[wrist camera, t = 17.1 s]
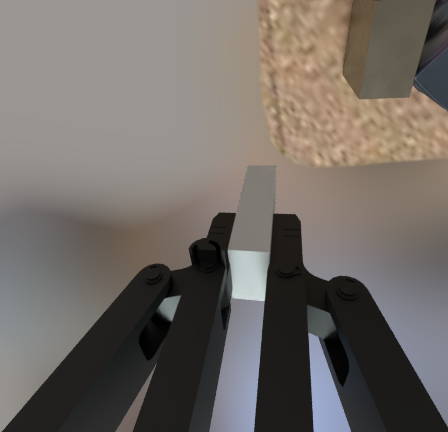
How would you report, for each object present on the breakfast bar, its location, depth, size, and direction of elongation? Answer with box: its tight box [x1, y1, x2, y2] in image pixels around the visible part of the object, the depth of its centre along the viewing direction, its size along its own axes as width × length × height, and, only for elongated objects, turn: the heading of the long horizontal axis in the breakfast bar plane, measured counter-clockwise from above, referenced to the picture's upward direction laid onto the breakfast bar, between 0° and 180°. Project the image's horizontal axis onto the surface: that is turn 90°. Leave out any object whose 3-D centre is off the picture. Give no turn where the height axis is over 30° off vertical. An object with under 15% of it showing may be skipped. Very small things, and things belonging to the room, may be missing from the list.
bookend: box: [343, 0, 436, 99], centre depth 27 cm, size 7×4×10 cm, turn 5°
